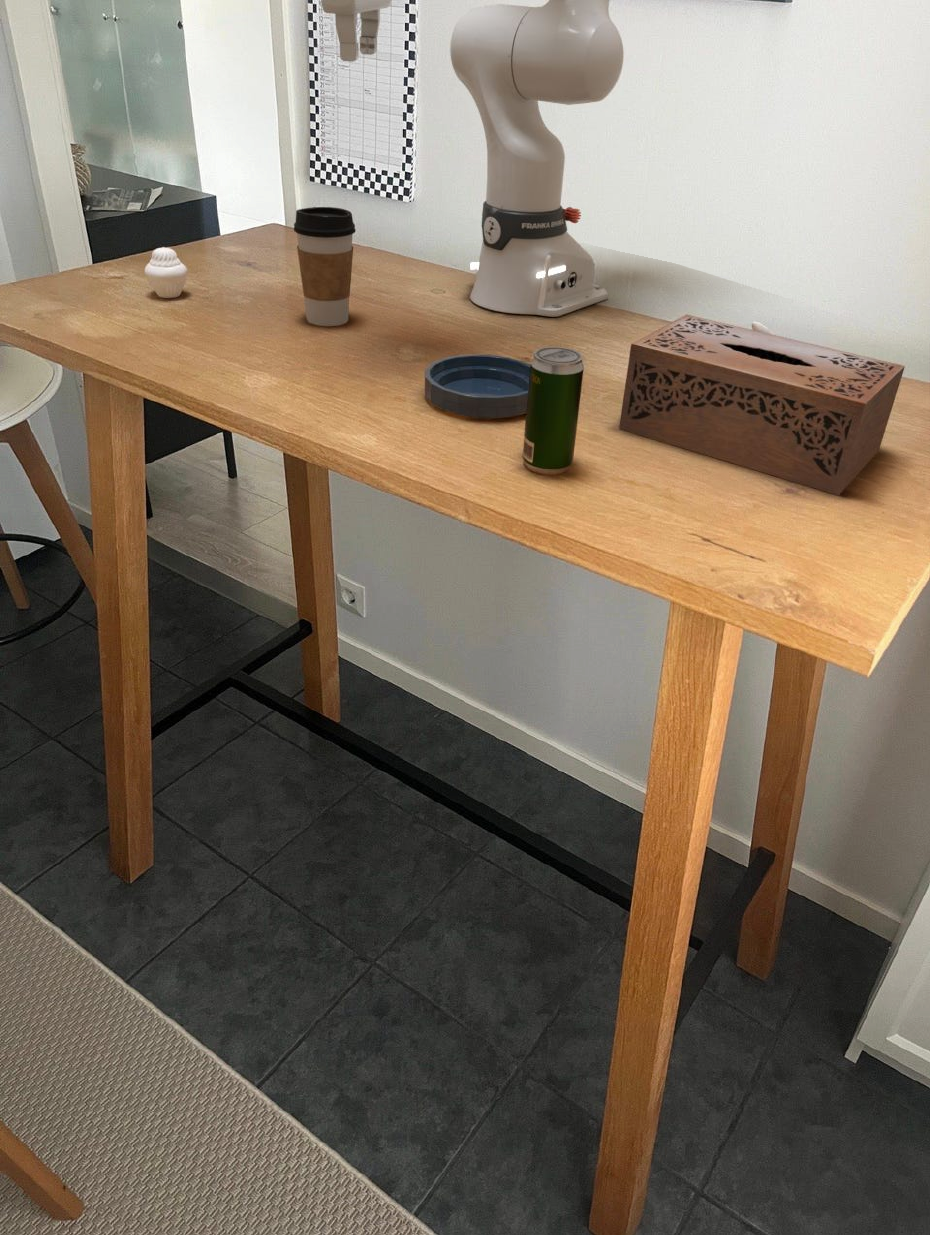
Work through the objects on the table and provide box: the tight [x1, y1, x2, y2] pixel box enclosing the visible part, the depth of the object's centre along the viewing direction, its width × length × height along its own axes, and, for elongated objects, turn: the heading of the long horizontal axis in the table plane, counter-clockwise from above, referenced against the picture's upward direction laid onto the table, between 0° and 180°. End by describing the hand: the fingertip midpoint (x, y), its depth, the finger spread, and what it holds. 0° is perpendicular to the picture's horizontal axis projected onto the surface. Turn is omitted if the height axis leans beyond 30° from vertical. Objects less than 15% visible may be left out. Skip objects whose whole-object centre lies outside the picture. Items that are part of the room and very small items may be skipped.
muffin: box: [144, 246, 188, 299], centre depth 146 cm, size 6×6×7 cm
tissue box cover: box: [618, 314, 906, 496], centre depth 110 cm, size 26×14×10 cm, turn 55°
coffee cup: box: [293, 206, 356, 327], centre depth 137 cm, size 8×8×15 cm
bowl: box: [424, 354, 531, 420], centre depth 119 cm, size 14×14×3 cm
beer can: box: [521, 346, 585, 476], centre depth 101 cm, size 5×5×12 cm
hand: (359, 57), depth 113 cm, fingers open, 8 cm apart
